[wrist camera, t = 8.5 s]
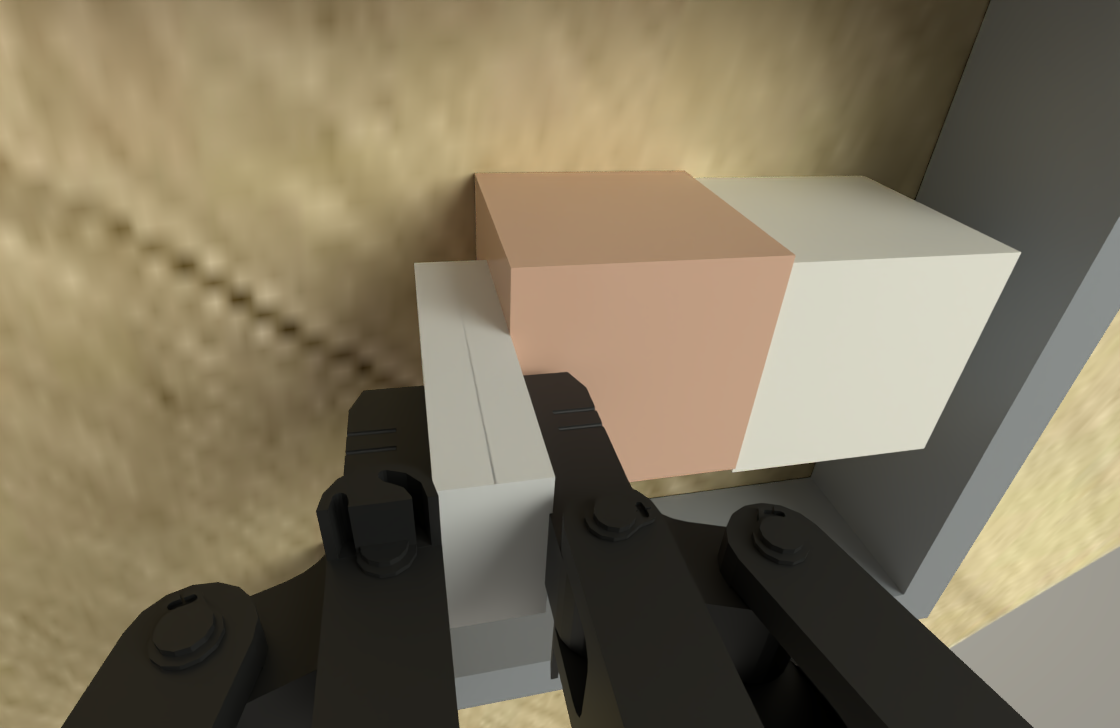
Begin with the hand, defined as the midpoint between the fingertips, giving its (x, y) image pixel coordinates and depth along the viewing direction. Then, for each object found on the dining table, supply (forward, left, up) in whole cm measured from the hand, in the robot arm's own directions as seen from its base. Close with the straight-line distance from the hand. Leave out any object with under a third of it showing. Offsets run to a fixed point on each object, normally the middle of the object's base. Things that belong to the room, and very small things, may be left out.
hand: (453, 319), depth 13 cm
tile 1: (0, +3, -2) cm, 4 cm away
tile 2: (0, +8, -2) cm, 8 cm away
